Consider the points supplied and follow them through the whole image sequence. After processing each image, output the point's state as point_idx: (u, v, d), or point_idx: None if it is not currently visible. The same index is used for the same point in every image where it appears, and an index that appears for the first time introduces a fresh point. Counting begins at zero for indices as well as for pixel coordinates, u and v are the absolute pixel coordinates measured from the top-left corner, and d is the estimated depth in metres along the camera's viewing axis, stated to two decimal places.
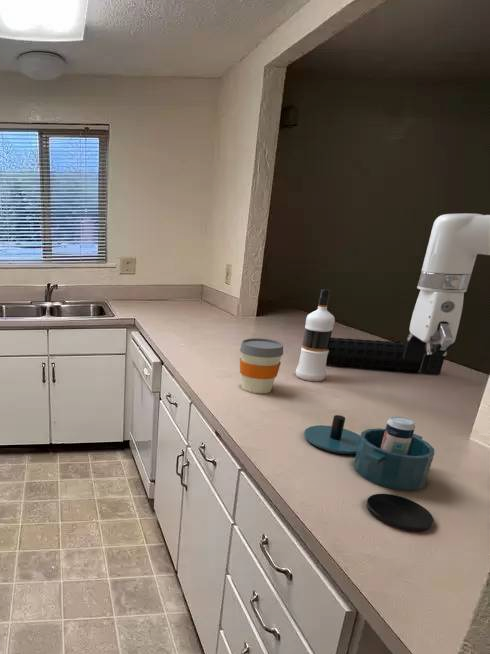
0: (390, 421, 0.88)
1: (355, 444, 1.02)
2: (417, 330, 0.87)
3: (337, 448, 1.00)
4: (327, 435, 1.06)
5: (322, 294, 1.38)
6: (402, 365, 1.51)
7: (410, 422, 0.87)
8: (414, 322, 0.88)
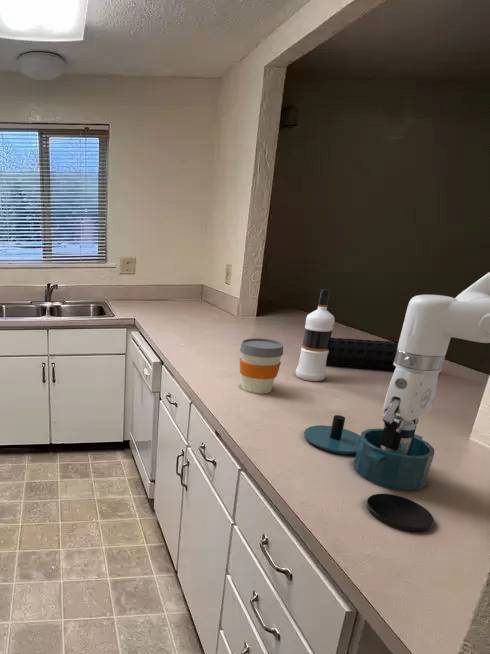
0: None
1: (355, 444, 1.02)
2: None
3: (337, 448, 1.00)
4: (327, 435, 1.06)
5: (322, 294, 1.38)
6: None
7: (410, 422, 0.87)
8: None
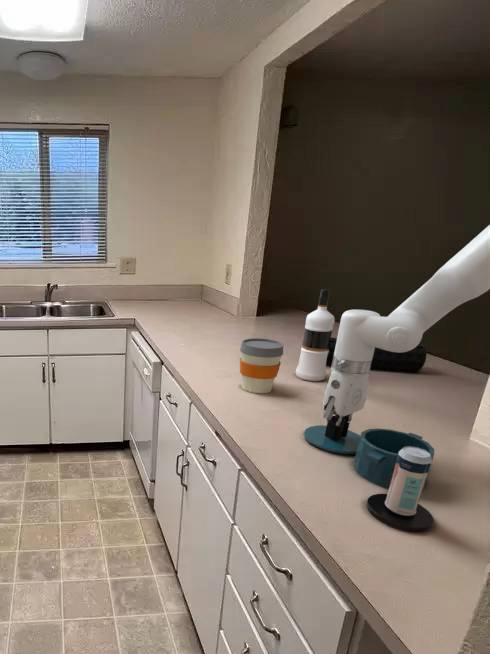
0: (402, 452, 0.76)
1: (355, 444, 1.02)
2: None
3: (337, 448, 1.00)
4: None
5: (322, 294, 1.38)
6: (402, 365, 1.51)
7: (426, 454, 0.74)
8: None
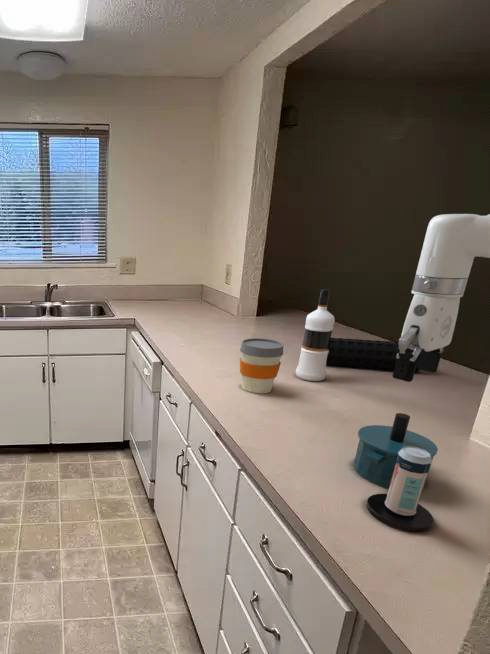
0: (402, 452, 0.76)
1: (422, 447, 0.86)
2: None
3: None
4: (386, 437, 0.91)
5: (322, 294, 1.38)
6: None
7: (426, 454, 0.74)
8: None
